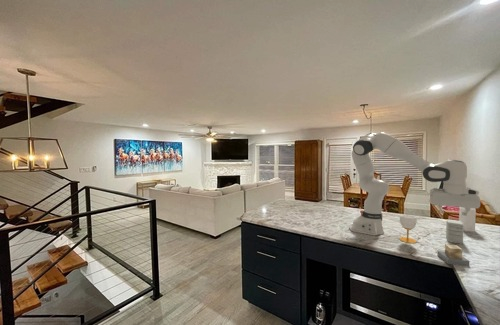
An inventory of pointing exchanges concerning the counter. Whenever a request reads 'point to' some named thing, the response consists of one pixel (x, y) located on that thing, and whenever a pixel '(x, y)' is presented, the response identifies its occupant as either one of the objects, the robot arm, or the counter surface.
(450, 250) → the maple cube
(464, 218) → the cup
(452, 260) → the plate
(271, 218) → the counter surface
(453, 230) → the supplement box
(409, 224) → the cup
